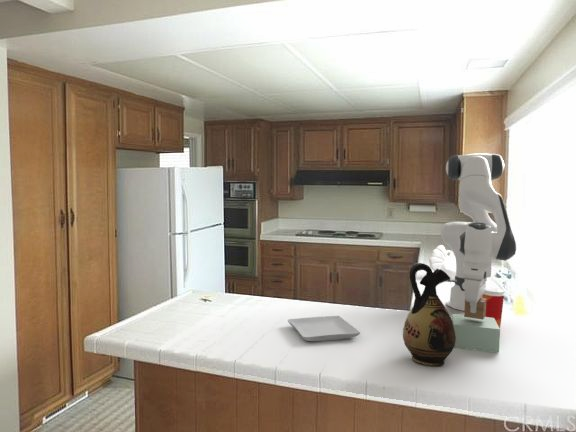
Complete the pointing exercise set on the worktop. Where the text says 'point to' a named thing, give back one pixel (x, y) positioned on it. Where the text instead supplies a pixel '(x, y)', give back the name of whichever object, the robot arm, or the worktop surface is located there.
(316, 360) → the worktop surface
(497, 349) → the sage box
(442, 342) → the ceramic jug
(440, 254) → the decorative rooster
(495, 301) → the coffee cup
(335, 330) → the salad plate
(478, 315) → the walnut block
